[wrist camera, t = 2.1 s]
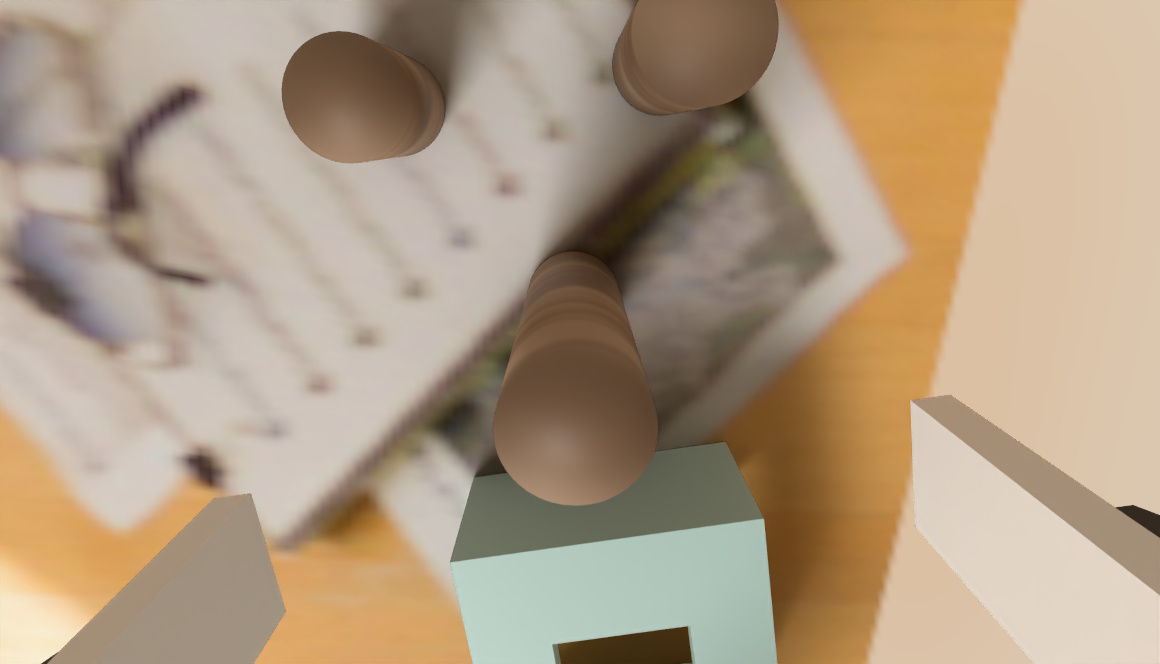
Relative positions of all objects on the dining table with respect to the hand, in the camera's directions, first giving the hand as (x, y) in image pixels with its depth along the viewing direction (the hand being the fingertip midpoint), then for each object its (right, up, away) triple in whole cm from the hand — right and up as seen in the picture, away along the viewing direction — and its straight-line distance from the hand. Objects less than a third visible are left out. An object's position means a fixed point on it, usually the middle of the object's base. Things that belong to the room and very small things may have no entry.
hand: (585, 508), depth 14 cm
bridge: (+2, -9, +22) cm, 24 cm away
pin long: (0, +5, +18) cm, 18 cm away
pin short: (-8, +13, +15) cm, 21 cm away
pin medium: (+3, +14, +15) cm, 21 cm away
